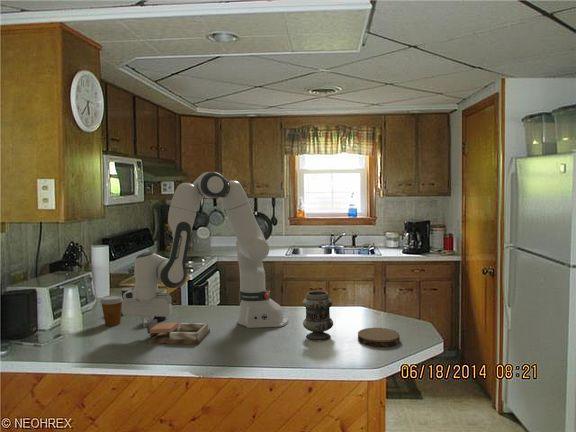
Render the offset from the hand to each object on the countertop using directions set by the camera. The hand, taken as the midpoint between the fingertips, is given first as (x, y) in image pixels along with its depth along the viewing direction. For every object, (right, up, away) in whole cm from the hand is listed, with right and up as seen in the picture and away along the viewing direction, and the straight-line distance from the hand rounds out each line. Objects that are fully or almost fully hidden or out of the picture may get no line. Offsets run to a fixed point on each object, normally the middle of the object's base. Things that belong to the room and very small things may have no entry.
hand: (147, 326), depth 197 cm
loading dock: (+13, -5, -1) cm, 14 cm away
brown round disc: (+92, -4, -9) cm, 92 cm away
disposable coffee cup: (-21, -3, +19) cm, 29 cm away
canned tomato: (-20, -2, +41) cm, 46 cm away
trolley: (+7, -3, -1) cm, 8 cm away
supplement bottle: (-2, -3, +25) cm, 25 cm away
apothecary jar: (+69, -4, -4) cm, 69 cm away
